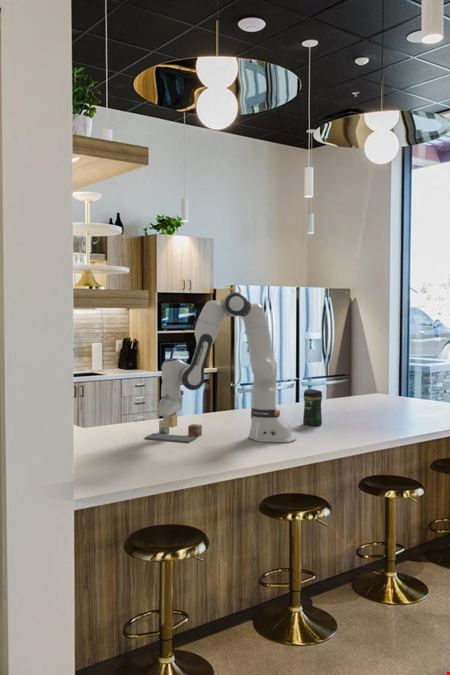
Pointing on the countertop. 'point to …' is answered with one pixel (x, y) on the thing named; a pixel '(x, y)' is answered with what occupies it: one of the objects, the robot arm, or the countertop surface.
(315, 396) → the coffee jar
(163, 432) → the metal canister
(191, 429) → the walnut block
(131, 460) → the countertop surface
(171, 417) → the mustard block
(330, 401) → the countertop surface
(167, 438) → the rubber mat
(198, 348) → the robot arm
